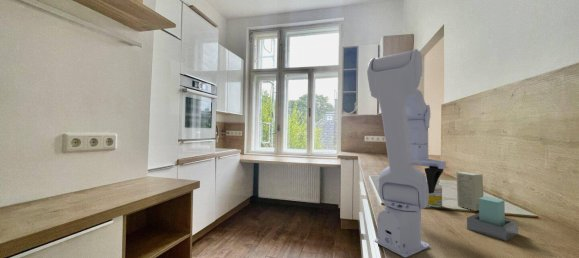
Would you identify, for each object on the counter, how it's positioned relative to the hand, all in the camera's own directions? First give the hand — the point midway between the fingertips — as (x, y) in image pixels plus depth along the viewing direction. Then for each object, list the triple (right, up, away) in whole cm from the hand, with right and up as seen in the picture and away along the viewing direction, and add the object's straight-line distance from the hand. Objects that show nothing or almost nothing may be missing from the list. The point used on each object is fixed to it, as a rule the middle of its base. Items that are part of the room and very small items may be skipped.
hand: (417, 189), depth 66 cm
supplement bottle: (+14, -10, +15) cm, 23 cm away
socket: (+16, -9, -6) cm, 20 cm away
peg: (+16, -9, -6) cm, 20 cm away
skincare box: (+25, -10, +12) cm, 30 cm away
